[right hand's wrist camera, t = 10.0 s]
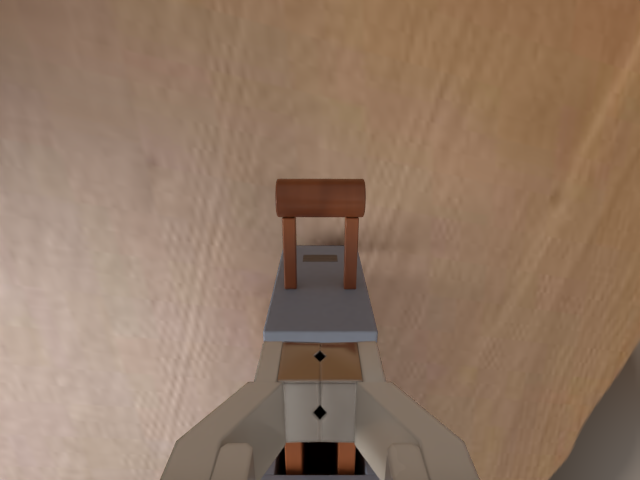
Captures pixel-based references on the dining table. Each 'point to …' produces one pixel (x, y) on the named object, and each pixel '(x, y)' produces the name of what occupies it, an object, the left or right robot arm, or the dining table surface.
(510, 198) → the dining table surface
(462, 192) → the dining table surface
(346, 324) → the drawer
